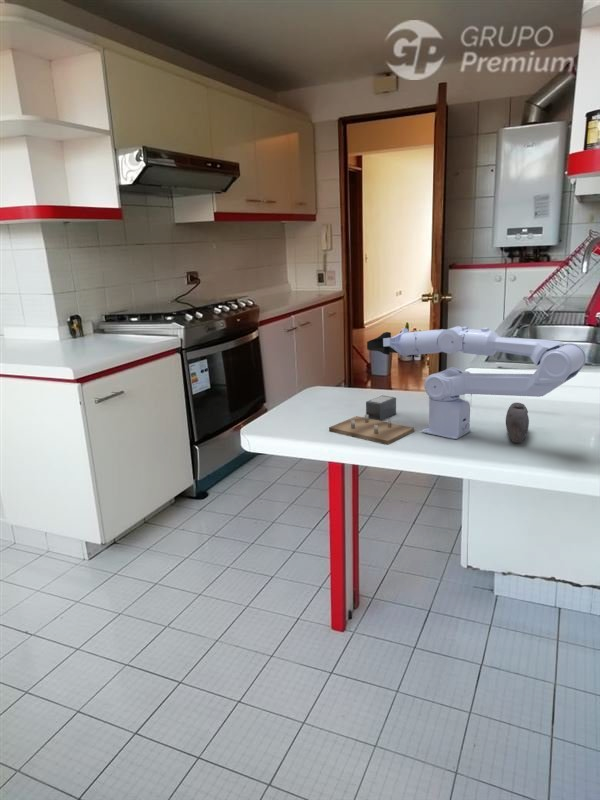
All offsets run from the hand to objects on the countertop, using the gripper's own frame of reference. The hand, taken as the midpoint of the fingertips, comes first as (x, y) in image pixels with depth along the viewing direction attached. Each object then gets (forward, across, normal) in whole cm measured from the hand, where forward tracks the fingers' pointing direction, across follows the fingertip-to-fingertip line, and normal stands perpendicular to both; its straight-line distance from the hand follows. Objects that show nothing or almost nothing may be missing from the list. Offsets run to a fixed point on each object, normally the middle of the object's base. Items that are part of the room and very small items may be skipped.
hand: (376, 346), depth 149 cm
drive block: (+3, -6, +19) cm, 20 cm away
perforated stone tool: (-32, -12, +24) cm, 42 cm away
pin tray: (-2, +5, +22) cm, 23 cm away
